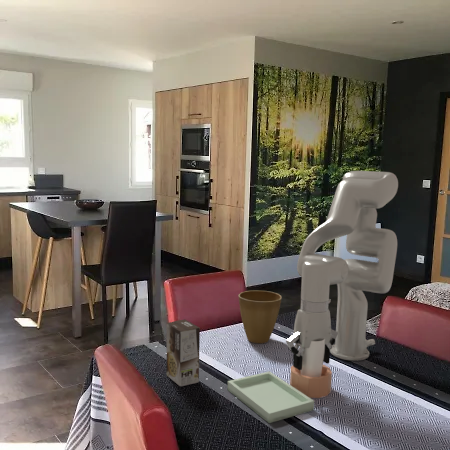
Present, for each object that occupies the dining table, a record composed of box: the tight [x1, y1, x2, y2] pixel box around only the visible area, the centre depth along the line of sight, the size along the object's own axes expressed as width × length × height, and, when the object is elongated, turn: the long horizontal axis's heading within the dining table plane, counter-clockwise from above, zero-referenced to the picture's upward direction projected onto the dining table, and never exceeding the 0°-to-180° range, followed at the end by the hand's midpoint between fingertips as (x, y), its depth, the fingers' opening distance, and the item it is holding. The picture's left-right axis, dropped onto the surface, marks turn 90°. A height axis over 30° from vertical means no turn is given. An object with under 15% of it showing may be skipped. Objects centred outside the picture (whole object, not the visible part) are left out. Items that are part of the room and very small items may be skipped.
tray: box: [227, 371, 315, 424], centre depth 137 cm, size 14×20×2 cm
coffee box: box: [165, 319, 201, 387], centre depth 147 cm, size 9×6×16 cm
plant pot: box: [238, 290, 282, 344], centre depth 180 cm, size 15×15×16 cm
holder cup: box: [289, 364, 333, 399], centre depth 144 cm, size 11×11×6 cm
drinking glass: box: [301, 339, 325, 377], centre depth 143 cm, size 7×7×15 cm
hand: (311, 364), depth 143 cm, fingers open, 9 cm apart
